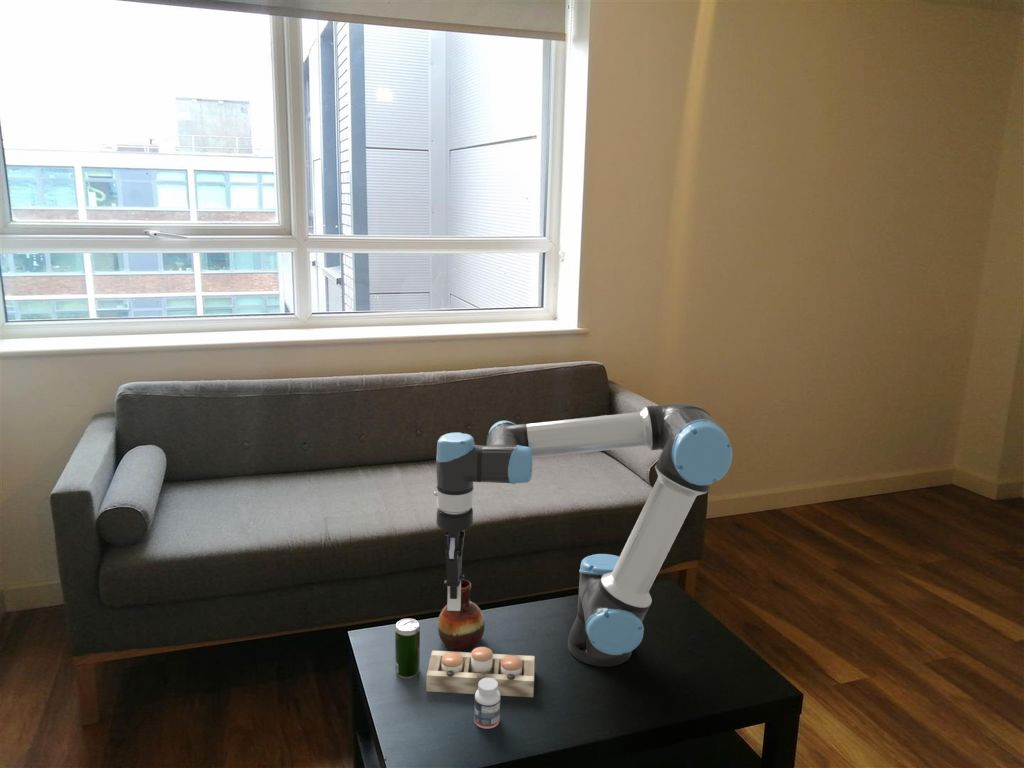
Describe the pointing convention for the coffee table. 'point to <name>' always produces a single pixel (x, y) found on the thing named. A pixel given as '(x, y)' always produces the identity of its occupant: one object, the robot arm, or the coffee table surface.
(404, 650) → the beer can
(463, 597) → the vase
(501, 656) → the wooden egg tray
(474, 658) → the button
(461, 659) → the button
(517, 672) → the button
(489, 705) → the pill bottle
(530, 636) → the coffee table surface
